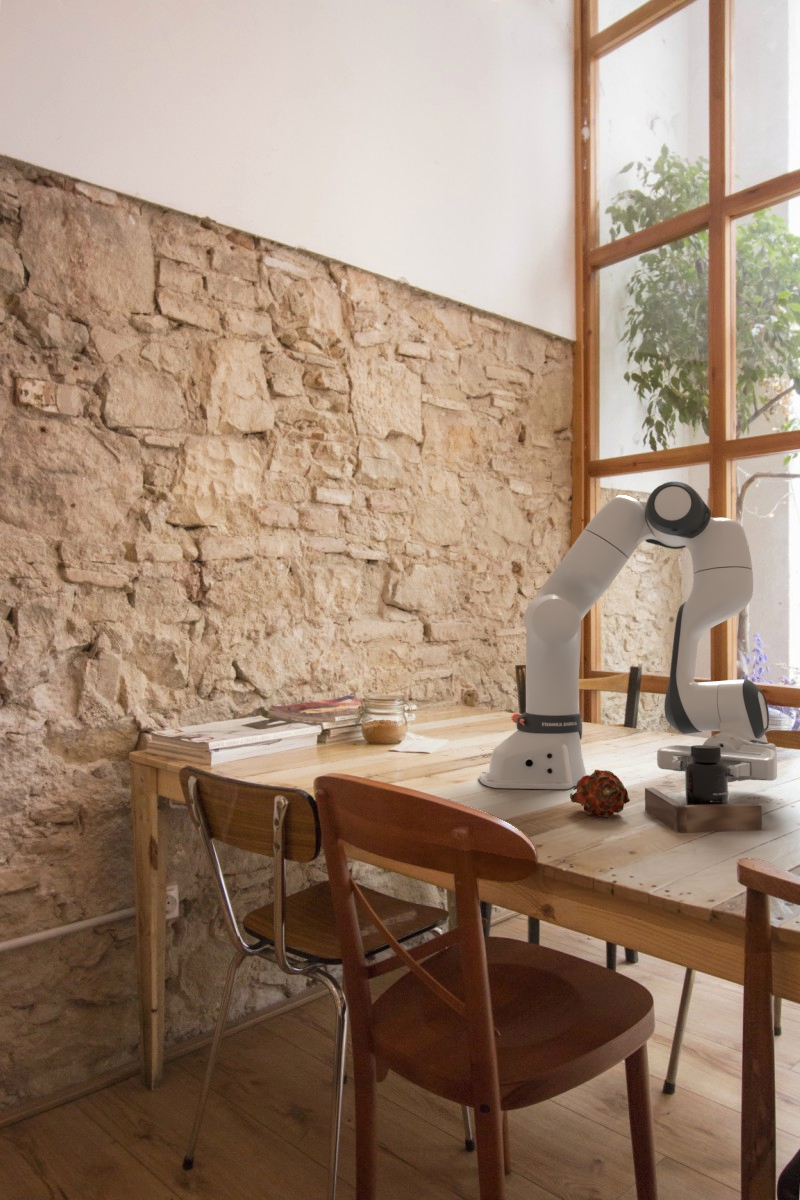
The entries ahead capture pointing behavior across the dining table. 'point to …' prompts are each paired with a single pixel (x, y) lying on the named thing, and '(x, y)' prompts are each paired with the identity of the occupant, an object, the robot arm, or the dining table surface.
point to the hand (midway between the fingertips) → (703, 769)
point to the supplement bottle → (706, 777)
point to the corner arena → (703, 814)
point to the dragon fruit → (600, 794)
